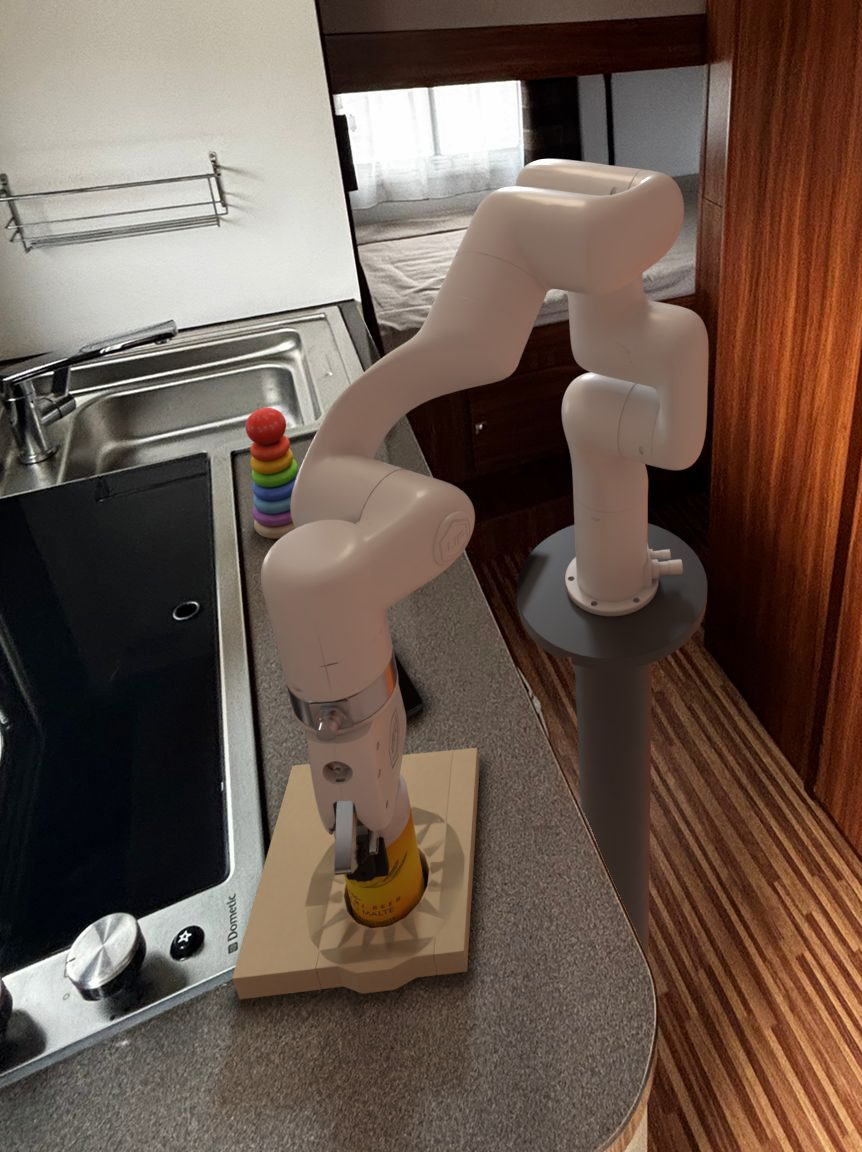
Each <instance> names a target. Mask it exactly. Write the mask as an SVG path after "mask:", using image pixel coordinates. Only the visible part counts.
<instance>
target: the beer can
mask: <svg viewBox="0 0 862 1152" xmlns="http://www.w3.org/2000/svg"><path fill="white" fill-rule="evenodd" d="M333 833H334V837H335V834H336V831H334V832H333ZM378 833H379V837H382V838H384V842H385V847H386V852H387V856H388V861H389V866H390V867H389V874H388V875H387V876H384V877H375V878H374V879H373V880H371V881H365V882H359V881H356V880H349V879H348V878H347V876H346V874H344V877H345V881H346V885H347V889H348V893H349V897H350V902H351V909H352V913H353V918H354V920H355V921H356V922H357V923H358V924H360V925H363V926H366V927H369V928H378V927H387V926H391V925H392V924H394V923H396V922H398V921H400V920H402V919H404V918H406V917H407V915H408V914H409V913H410V912H411V911H412V910H413V909H414V908H415V907H416V906H417V905H418V904H419V903H420V901H421V898H422V896H423V894H424V892H425V890H426V888H425V879H424V873H423V869H422V867H421V862H420V856H419V851H418V845H417V840H416V834H415V828H414V823H413V817H412V812H411V806H410V801H409V795H408V790H407V785H406V781H405V779H404V777H403V775H402V774H401V773H400V777H399V783H398V789H397V795H396V801H395V807H394V812H393V816H392V819H391V821H390V823H389V824H388V826H387V827H386V828H385V829H383V830H378ZM360 835H368V830H367V827H366V826H365V825H363V826H357V828H356V836H360Z"/></svg>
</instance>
